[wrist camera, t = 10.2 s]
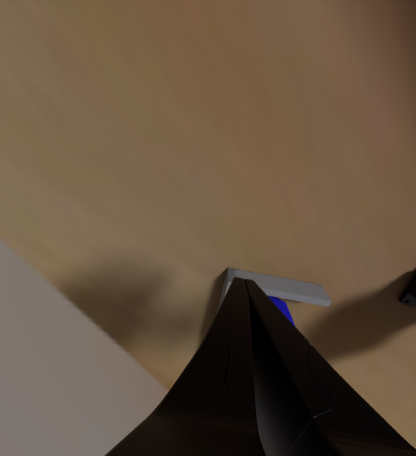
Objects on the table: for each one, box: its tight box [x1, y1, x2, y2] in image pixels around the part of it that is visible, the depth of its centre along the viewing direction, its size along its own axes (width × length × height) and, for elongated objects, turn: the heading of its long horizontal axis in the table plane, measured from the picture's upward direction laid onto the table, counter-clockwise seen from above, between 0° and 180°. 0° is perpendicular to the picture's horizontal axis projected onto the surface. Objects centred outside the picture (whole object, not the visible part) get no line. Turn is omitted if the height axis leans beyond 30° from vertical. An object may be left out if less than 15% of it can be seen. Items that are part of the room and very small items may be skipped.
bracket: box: [216, 268, 332, 313], centre depth 26 cm, size 11×22×2 cm, turn 170°
